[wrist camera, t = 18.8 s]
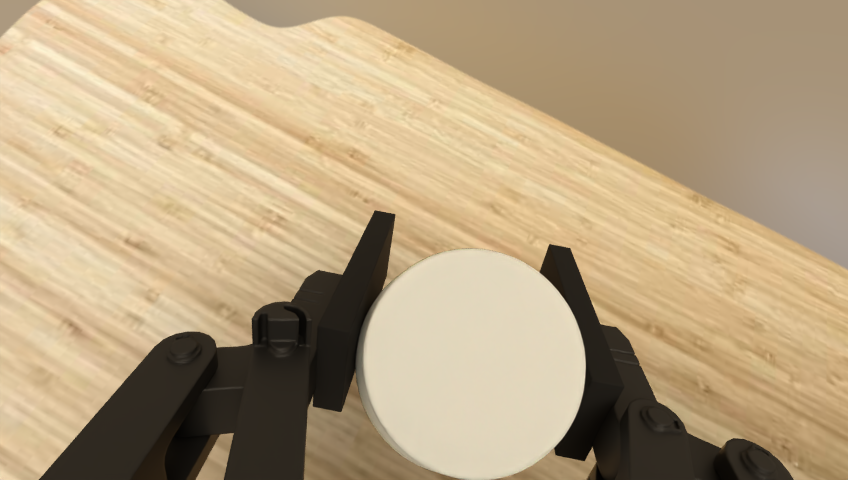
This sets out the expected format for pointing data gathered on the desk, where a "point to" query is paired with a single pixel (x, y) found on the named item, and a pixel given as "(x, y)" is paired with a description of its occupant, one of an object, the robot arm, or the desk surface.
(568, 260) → the robot arm
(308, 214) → the desk surface
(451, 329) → the pill bottle
